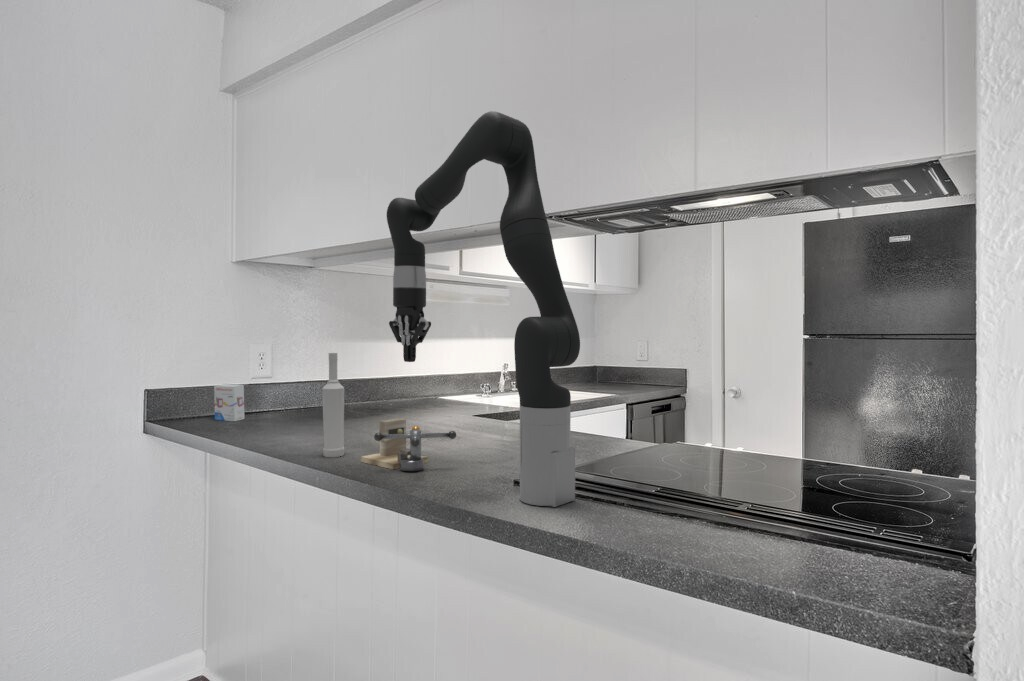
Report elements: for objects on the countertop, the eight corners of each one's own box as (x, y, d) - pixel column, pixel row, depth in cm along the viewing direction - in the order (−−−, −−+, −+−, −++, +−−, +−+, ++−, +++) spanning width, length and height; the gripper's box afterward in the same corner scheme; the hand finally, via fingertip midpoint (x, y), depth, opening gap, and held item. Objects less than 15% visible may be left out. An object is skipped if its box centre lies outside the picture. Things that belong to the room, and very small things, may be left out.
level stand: (434, 463, 145) (434, 423, 145) (400, 471, 138) (400, 429, 137) (395, 455, 155) (394, 417, 154) (360, 461, 147) (360, 422, 147)
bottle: (318, 456, 153) (317, 353, 152) (333, 452, 158) (332, 352, 157) (334, 458, 151) (333, 353, 150) (349, 454, 155) (348, 352, 155)
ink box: (213, 420, 211) (213, 384, 211) (224, 418, 216) (224, 383, 216) (234, 421, 209) (234, 385, 208) (245, 419, 214) (244, 384, 213)
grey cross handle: (454, 458, 149) (454, 423, 149) (458, 476, 131) (458, 436, 131) (377, 461, 146) (376, 425, 146) (371, 479, 129) (370, 439, 128)
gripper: (441, 286, 144) (440, 362, 145) (404, 288, 153) (404, 359, 154) (415, 285, 139) (415, 364, 139) (378, 286, 147) (378, 360, 148)
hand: (409, 361), depth 147 cm, fingers closed
